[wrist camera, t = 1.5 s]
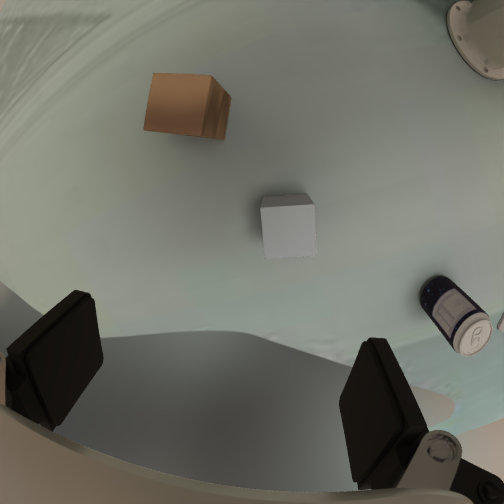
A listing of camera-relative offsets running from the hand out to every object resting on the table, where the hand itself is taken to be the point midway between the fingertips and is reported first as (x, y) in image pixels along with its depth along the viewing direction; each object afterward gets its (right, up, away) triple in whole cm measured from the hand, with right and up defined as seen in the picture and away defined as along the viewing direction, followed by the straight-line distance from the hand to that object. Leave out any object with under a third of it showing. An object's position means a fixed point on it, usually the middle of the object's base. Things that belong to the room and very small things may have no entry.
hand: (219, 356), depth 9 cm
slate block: (+5, +8, +25) cm, 27 cm away
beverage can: (+27, -2, +27) cm, 38 cm away
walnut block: (-4, +19, +22) cm, 29 cm away
